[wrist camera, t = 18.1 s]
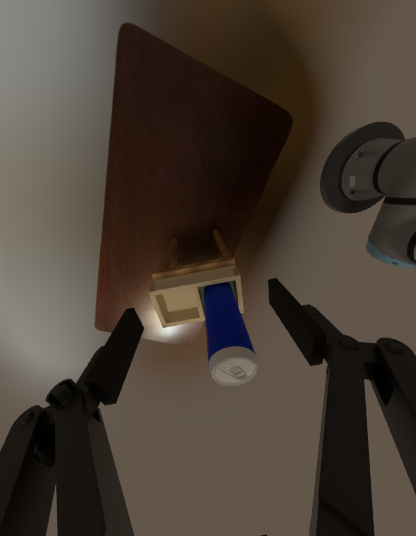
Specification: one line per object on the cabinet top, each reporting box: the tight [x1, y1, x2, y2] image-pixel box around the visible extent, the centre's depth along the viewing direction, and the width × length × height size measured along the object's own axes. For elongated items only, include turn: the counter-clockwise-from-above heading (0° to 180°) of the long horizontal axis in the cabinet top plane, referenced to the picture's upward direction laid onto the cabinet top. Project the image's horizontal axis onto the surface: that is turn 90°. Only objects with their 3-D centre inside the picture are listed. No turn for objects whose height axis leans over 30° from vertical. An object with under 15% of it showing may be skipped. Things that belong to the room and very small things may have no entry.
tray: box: [149, 265, 244, 328], centre depth 29 cm, size 15×8×4 cm, turn 100°
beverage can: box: [204, 282, 257, 386], centre depth 23 cm, size 5×5×15 cm
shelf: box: [152, 229, 235, 280], centre depth 43 cm, size 15×10×26 cm, turn 100°
